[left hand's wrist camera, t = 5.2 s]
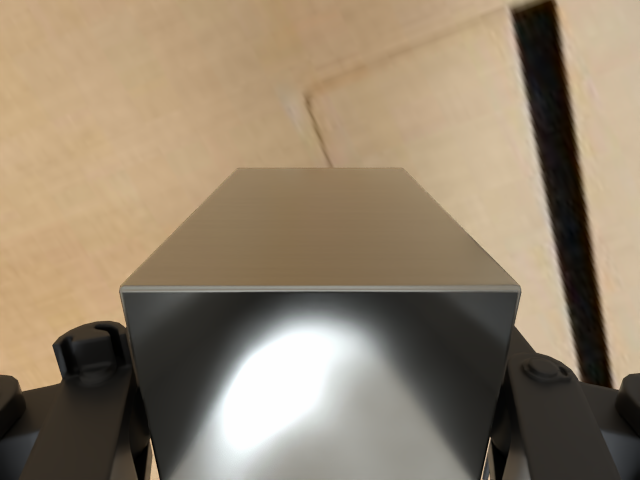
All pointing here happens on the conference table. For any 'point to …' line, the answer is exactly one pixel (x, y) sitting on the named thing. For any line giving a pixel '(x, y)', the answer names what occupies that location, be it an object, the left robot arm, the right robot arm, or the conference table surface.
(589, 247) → the conference table surface
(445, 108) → the conference table surface
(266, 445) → the bar
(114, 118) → the conference table surface
